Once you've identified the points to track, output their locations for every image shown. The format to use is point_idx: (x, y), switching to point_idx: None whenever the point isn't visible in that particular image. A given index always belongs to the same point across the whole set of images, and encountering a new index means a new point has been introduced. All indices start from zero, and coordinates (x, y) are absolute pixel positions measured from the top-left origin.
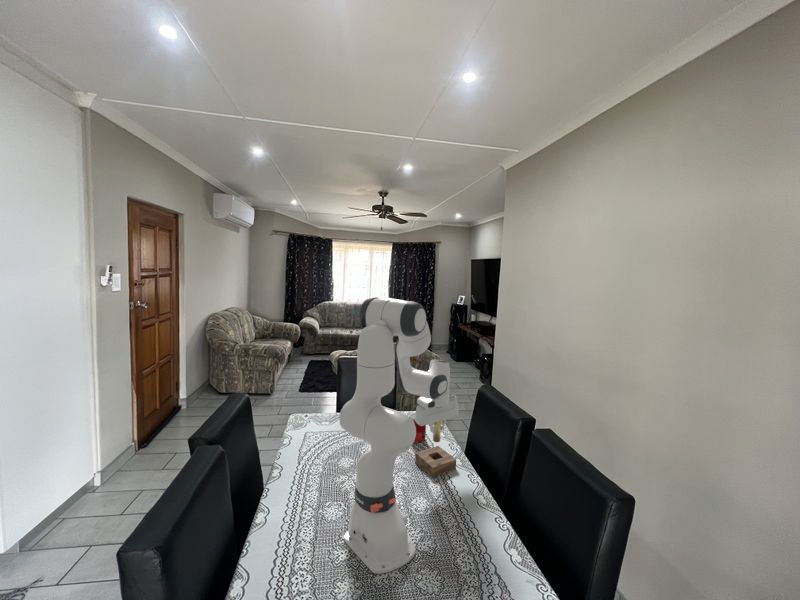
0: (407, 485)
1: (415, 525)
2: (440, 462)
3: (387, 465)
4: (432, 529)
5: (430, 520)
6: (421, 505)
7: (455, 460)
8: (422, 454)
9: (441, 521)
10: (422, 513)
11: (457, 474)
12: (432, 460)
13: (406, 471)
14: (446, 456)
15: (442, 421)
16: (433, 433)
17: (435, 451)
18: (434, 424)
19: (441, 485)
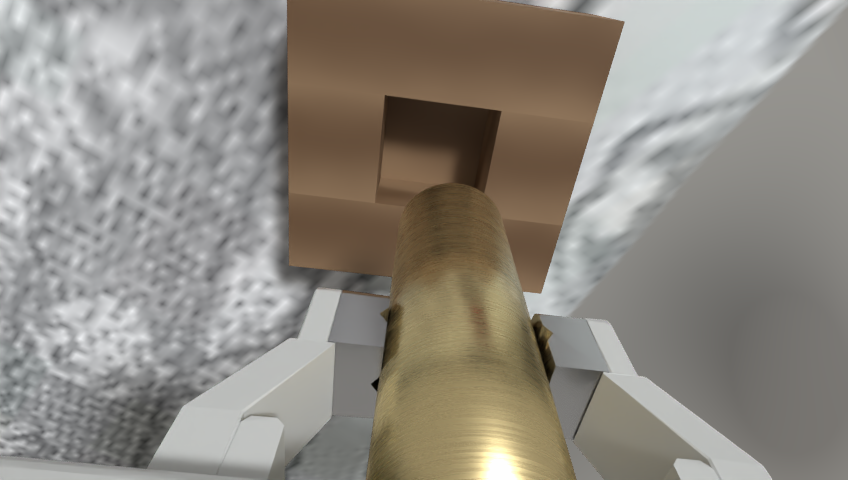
0: (90, 189)
1: (16, 411)
2: (394, 253)
3: None
4: (84, 452)
5: (99, 424)
6: (101, 350)
7: (531, 287)
8: (337, 54)
9: (145, 447)
10: (81, 384)
11: None
12: (354, 195)
13: (156, 47)
14: (511, 222)
15: (660, 463)
16: (395, 272)
17: (499, 96)
18: (372, 442)
19: (307, 307)
